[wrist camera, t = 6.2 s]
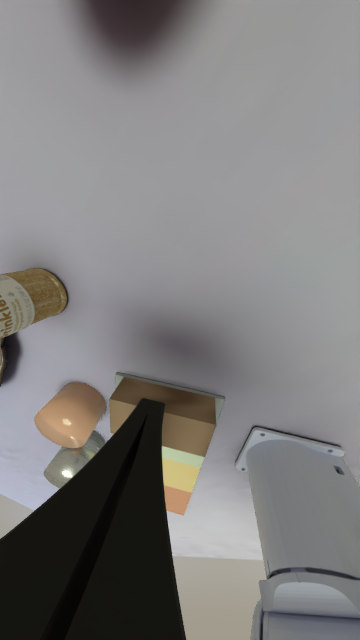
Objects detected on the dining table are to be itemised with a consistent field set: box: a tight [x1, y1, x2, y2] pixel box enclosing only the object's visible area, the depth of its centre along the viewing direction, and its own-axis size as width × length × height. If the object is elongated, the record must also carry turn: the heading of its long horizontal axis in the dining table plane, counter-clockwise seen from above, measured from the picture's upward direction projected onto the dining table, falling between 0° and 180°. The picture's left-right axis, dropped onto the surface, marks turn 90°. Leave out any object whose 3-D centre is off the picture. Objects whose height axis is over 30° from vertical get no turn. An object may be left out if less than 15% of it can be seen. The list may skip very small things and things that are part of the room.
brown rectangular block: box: [109, 377, 216, 457], centre depth 18 cm, size 10×5×3 cm, turn 81°
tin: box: [44, 430, 105, 488], centre depth 23 cm, size 5×5×5 cm
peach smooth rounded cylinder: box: [34, 382, 106, 448], centre depth 20 cm, size 6×6×4 cm
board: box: [115, 372, 225, 515], centre depth 24 cm, size 12×28×1 cm, turn 171°
